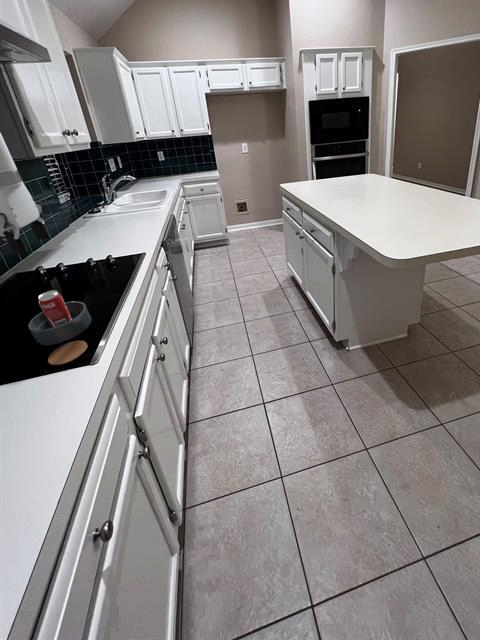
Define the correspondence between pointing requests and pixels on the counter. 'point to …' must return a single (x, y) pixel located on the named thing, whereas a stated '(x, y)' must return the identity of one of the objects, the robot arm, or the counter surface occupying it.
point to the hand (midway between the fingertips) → (33, 245)
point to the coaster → (67, 352)
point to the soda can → (54, 308)
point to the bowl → (64, 332)
